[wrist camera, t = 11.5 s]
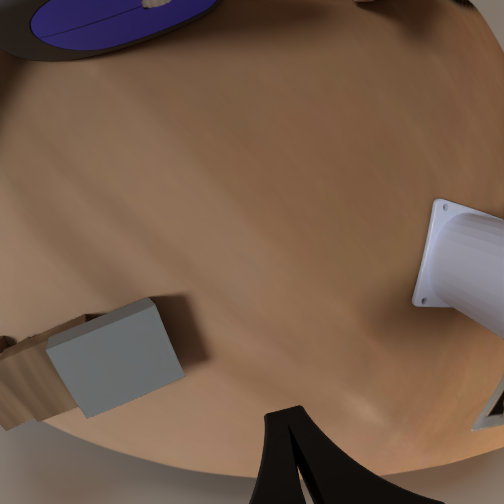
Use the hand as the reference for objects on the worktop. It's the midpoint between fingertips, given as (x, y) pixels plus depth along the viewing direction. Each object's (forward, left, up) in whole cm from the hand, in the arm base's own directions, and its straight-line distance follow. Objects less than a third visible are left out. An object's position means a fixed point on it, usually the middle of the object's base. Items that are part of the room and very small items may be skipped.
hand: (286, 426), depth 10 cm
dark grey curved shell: (+13, -19, -10) cm, 25 cm away
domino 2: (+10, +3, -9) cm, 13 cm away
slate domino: (+5, +1, -9) cm, 10 cm away
